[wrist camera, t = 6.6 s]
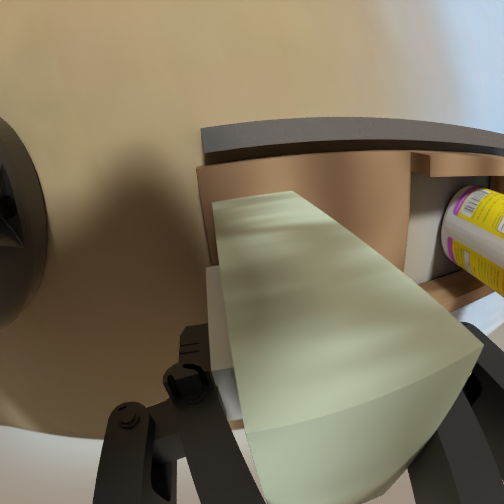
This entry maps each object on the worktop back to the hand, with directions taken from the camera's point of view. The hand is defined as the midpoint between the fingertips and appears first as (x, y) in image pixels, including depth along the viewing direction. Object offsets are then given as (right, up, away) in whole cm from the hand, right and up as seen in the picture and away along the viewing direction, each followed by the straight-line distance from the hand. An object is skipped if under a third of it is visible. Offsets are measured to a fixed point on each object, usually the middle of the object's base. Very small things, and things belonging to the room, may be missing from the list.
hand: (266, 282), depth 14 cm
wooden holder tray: (+9, +3, +4) cm, 10 cm away
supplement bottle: (+16, +4, +5) cm, 18 cm away
